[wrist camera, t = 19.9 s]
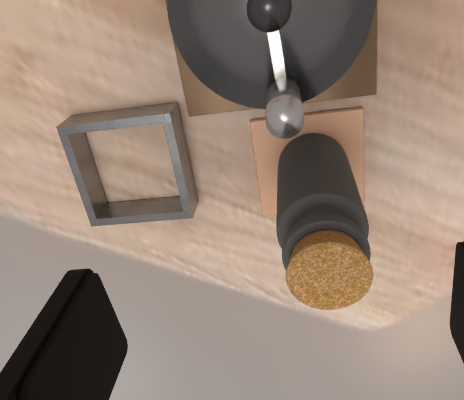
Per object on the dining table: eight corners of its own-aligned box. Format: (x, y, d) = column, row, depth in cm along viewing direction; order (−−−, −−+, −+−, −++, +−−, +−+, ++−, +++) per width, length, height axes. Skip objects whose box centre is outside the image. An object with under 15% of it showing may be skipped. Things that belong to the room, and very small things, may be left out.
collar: (177, 102, 36) (169, 113, 33) (198, 201, 40) (193, 217, 38) (71, 115, 37) (56, 127, 35) (103, 209, 42) (91, 226, 39)
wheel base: (376, -145, 27) (378, -146, 27) (375, 92, 34) (376, 94, 34) (147, -100, 29) (145, -100, 29) (189, 115, 36) (188, 116, 36)
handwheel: (148, -83, 29) (107, -96, 22) (362, -143, 27) (392, -180, 20) (200, 118, 36) (182, 156, 29) (376, 84, 33) (403, 118, 26)
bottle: (359, 177, 37) (401, 296, 24) (297, 205, 39) (305, 330, 26) (328, 119, 35) (357, 216, 22) (265, 152, 37) (255, 259, 24)
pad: (362, 106, 35) (363, 109, 34) (362, 204, 39) (364, 207, 38) (250, 119, 36) (250, 122, 36) (262, 212, 40) (262, 215, 40)
